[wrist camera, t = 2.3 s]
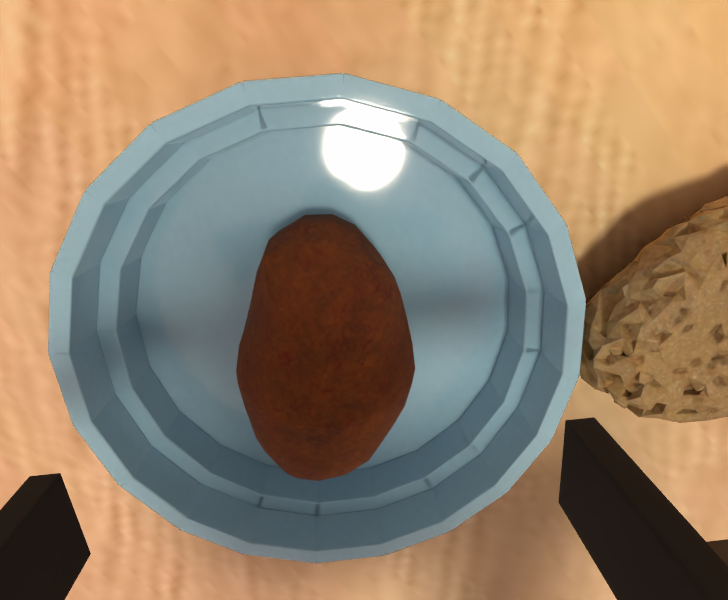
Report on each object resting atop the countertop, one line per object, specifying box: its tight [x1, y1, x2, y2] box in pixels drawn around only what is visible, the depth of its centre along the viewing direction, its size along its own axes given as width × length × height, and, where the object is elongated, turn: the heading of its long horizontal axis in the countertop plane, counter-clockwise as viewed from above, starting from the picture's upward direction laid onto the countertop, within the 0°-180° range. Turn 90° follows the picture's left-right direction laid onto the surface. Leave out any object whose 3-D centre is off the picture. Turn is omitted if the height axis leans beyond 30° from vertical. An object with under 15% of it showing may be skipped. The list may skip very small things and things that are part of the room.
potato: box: [236, 214, 415, 481], centre depth 20 cm, size 8×12×8 cm, turn 179°
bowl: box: [48, 73, 586, 563], centre depth 22 cm, size 22×22×5 cm
